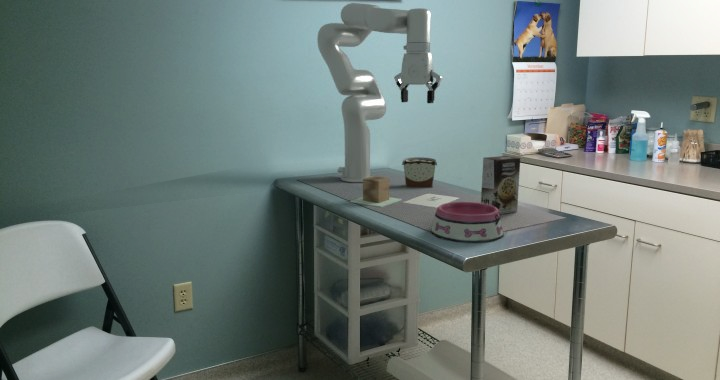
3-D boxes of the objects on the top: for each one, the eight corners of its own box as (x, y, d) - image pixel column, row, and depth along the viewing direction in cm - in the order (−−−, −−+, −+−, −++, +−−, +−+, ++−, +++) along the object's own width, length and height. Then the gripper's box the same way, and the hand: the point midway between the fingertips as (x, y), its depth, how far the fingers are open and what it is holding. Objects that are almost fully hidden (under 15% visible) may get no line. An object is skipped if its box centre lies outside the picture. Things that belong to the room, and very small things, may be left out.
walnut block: (363, 200, 185) (362, 178, 184) (373, 197, 190) (373, 176, 189) (378, 203, 182) (378, 181, 181) (389, 199, 187) (389, 178, 185)
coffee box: (494, 215, 168) (496, 160, 165) (479, 210, 174) (482, 157, 171) (518, 212, 172) (521, 157, 169) (503, 207, 178) (506, 154, 175)
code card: (402, 202, 184) (402, 202, 184) (427, 193, 197) (427, 193, 197) (436, 208, 177) (436, 207, 177) (460, 198, 190) (460, 197, 190)
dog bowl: (443, 220, 164) (444, 197, 162) (510, 228, 156) (512, 203, 154) (420, 238, 148) (421, 211, 146) (494, 247, 140) (495, 219, 138)
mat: (349, 202, 185) (349, 201, 185) (371, 195, 194) (371, 194, 194) (381, 207, 178) (381, 206, 178) (402, 200, 188) (402, 199, 187)
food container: (436, 184, 212) (436, 157, 210) (436, 188, 206) (437, 160, 204) (402, 184, 213) (402, 156, 211) (401, 187, 207) (401, 159, 205)
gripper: (389, 49, 190) (388, 102, 194) (436, 48, 181) (435, 104, 184) (401, 49, 196) (400, 101, 200) (447, 48, 186) (446, 103, 190)
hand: (417, 102), depth 192 cm, fingers open, 9 cm apart
